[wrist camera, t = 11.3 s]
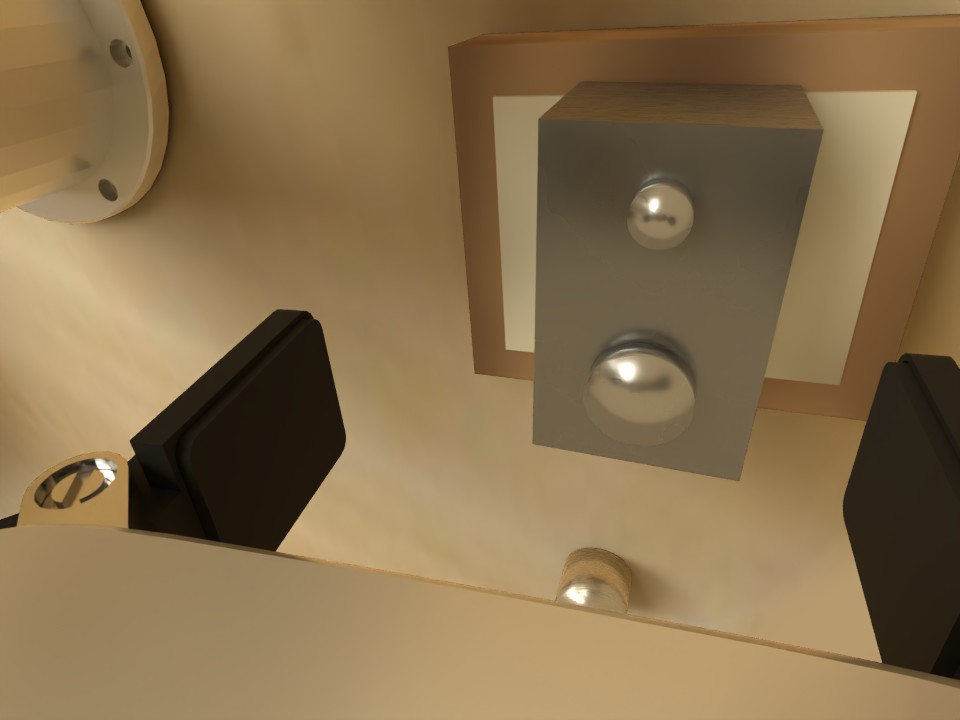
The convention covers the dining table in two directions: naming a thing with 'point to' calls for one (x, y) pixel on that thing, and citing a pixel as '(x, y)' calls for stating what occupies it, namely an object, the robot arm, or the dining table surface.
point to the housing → (664, 265)
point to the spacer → (595, 580)
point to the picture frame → (831, 200)
